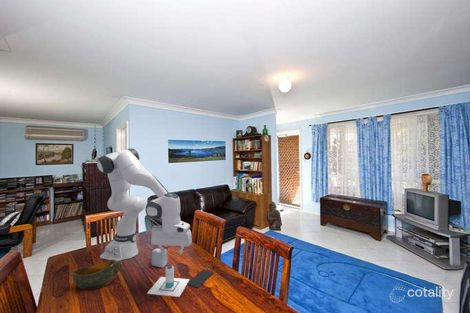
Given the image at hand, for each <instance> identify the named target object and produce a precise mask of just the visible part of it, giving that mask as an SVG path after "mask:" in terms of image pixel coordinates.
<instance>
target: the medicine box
mask: <svg viewBox="0 0 470 313" xmlns="http://www.w3.org/2000/svg"><path fill="white" fill-rule="evenodd" d="M167 264H168V250H167V249H165V252H164V253H161V250H160V249H159V247H156V248H154V249H153V250H152V251H151V266H153V267H158V268H162V269H163V268H164V267H166V265H167Z"/></svg>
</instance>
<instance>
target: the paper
mask: <svg viewBox="0 0 470 313" xmlns="http://www.w3.org/2000/svg"><path fill="white" fill-rule="evenodd" d="M189 281H190V279H189V278H178V277H177V278H176V277H174V286H173V287H172V288H166V287H165V276H160V277H159V278H158V280H157V281H156V282H155V283H154V284H153V285H152V287H151V288H150V289H149V290H148V292H147V293H146V294H147V295H157V296H164V297H165V296H166V297H174V298H175V297H176V298H180V297H181V295H182V293H183V292H184V290H185V288H186V287H187V286H188V285H187V283H188V282H189Z"/></svg>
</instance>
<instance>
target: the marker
mask: <svg viewBox="0 0 470 313" xmlns="http://www.w3.org/2000/svg"><path fill="white" fill-rule="evenodd" d="M164 274H165V276H164V277H165V287H166V288H172V287H173V286H174V278H175V267H174V265H172V264H171V265H170V264H169V265H167V266H165V273H164Z"/></svg>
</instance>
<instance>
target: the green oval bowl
mask: <svg viewBox="0 0 470 313" xmlns="http://www.w3.org/2000/svg"><path fill="white" fill-rule="evenodd" d="M122 261H123V260H120V261H117V262H116V261H115V260H106V261H103V262H101V263H97V264H94V265H93V264H92V265H87V266H83V267H79V268H75V269H74V270H72V272H71V273H72V281H73V283H74V284H75V285H76V286H77V287H78V288H79V289H80V290H95V289H100V288H103V287H107V286H108V285H109V284H111V283H112V282H113V280H114V278H116V277H117V274H118V273H119V271H120V270H121V269H122V268H123V265H124V264H123V262H122ZM119 264H120V267H118V265H119Z"/></svg>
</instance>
